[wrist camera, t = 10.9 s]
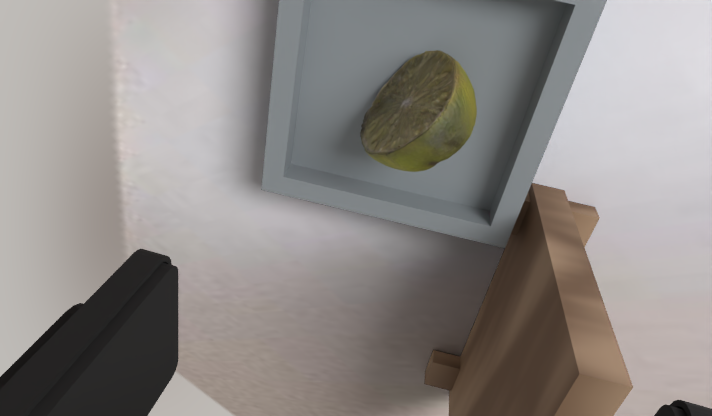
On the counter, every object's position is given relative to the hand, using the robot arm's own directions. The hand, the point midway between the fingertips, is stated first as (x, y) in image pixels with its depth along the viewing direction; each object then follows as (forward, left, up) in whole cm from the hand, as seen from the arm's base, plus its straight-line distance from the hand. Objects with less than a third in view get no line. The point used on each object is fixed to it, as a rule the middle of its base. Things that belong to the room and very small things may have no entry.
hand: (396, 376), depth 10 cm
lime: (0, 0, -16) cm, 16 cm away
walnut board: (-7, +11, -17) cm, 21 cm away
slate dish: (+1, 0, -17) cm, 17 cm away
